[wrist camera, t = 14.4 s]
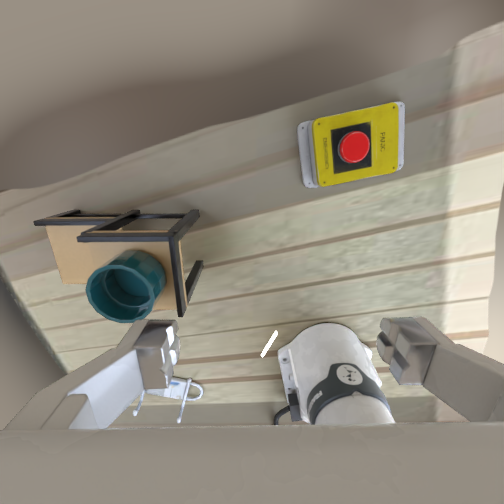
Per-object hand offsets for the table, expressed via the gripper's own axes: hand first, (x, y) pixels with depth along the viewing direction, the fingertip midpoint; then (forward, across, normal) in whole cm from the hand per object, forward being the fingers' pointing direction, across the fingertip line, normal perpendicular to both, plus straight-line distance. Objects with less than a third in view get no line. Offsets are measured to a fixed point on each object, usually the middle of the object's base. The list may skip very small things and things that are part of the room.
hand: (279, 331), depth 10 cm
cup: (+18, +14, +6) cm, 24 cm away
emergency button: (+31, -14, -8) cm, 35 cm away
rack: (+31, +19, +6) cm, 37 cm away
